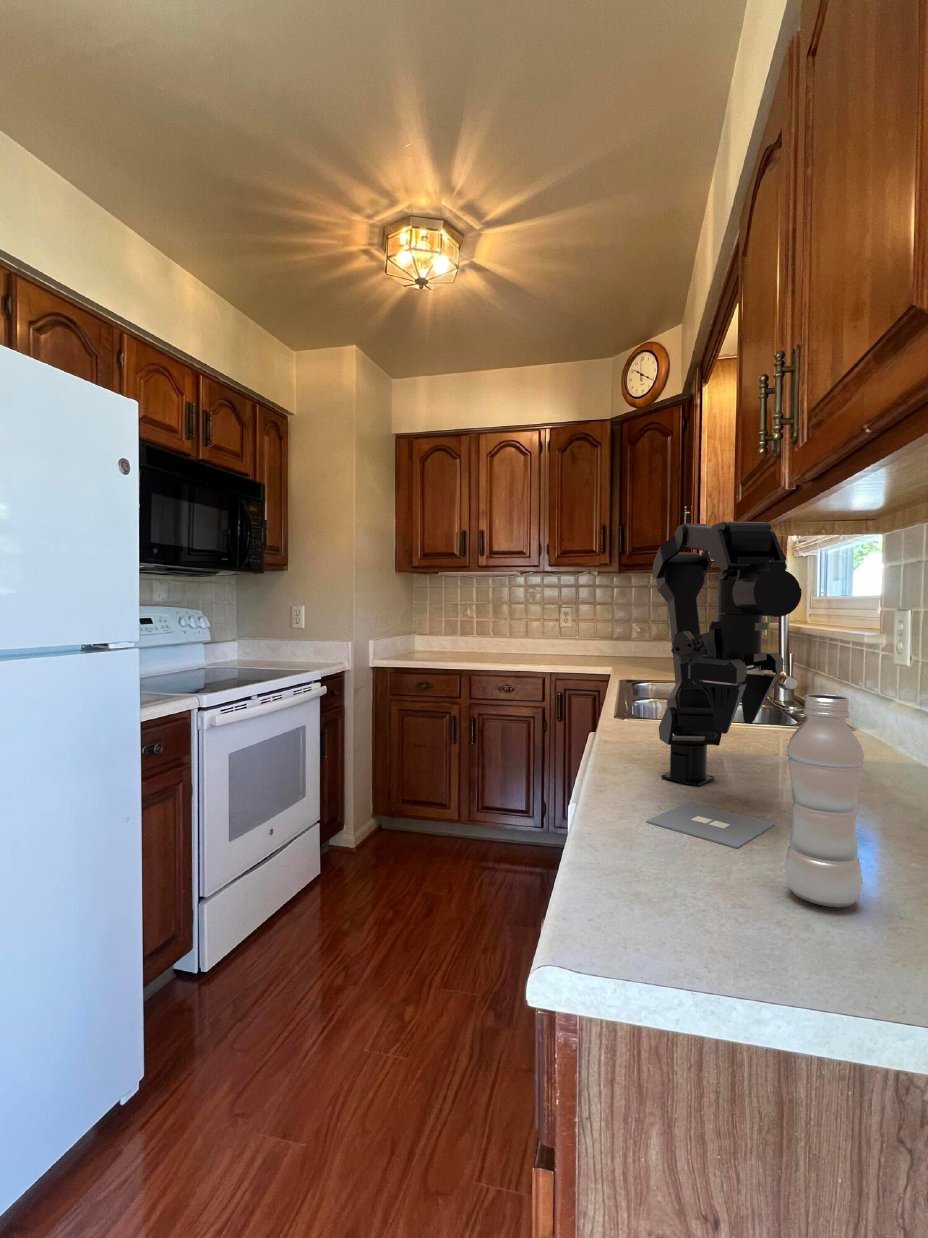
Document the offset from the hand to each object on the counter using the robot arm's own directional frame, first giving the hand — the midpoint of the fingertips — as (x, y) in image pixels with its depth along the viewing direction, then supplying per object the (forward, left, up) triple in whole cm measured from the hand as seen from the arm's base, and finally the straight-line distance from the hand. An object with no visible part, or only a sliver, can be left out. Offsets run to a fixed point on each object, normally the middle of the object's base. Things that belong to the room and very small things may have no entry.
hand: (736, 728), depth 85 cm
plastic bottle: (+18, +16, -12) cm, 27 cm away
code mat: (+5, -1, -12) cm, 13 cm away
